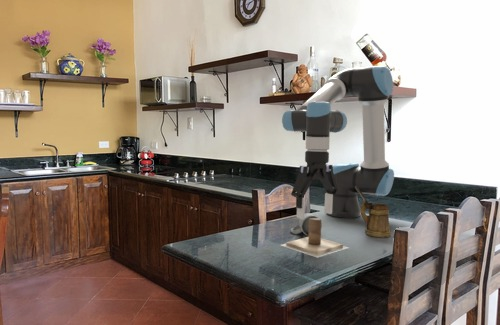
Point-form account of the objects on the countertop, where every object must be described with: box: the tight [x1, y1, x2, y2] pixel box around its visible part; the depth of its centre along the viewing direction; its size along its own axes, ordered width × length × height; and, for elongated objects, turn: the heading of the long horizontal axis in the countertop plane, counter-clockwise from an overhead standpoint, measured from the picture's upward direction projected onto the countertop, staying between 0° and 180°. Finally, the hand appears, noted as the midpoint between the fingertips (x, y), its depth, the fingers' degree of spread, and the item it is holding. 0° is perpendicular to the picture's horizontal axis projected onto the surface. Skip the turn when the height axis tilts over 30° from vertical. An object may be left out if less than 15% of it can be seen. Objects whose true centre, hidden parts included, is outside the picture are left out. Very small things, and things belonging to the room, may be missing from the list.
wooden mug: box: [355, 186, 392, 238], centre depth 148 cm, size 9×14×18 cm, turn 82°
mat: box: [280, 243, 350, 259], centre depth 131 cm, size 16×16×1 cm
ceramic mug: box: [290, 212, 323, 236], centre depth 148 cm, size 11×8×8 cm
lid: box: [285, 217, 344, 255], centre depth 131 cm, size 13×13×9 cm
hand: (314, 215), depth 130 cm, fingers open, 13 cm apart
